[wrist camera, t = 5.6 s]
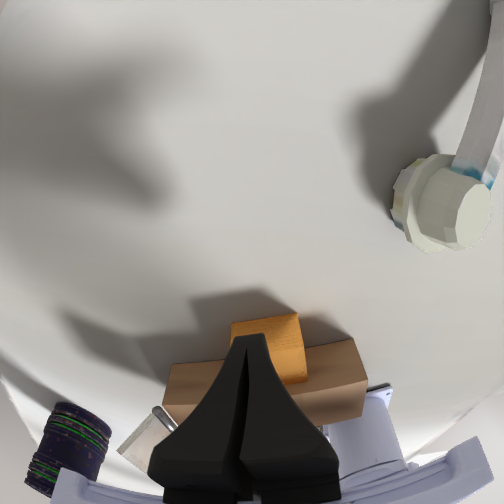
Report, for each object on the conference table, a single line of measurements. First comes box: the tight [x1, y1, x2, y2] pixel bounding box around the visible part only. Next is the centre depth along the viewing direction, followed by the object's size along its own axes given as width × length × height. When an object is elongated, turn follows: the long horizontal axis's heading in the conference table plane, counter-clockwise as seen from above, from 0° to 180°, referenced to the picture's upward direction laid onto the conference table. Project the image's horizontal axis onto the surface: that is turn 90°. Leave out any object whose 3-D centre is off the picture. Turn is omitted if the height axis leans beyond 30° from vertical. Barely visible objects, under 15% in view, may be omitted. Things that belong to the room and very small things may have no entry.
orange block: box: [230, 313, 308, 386], centre depth 22 cm, size 12×5×4 cm, turn 11°
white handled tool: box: [390, 0, 504, 253], centre depth 11 cm, size 5×7×25 cm
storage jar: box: [24, 402, 112, 498], centre depth 25 cm, size 10×10×15 cm
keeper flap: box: [116, 406, 177, 474], centre depth 19 cm, size 6×6×1 cm
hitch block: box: [162, 339, 368, 427], centre depth 22 cm, size 6×16×5 cm, turn 101°
